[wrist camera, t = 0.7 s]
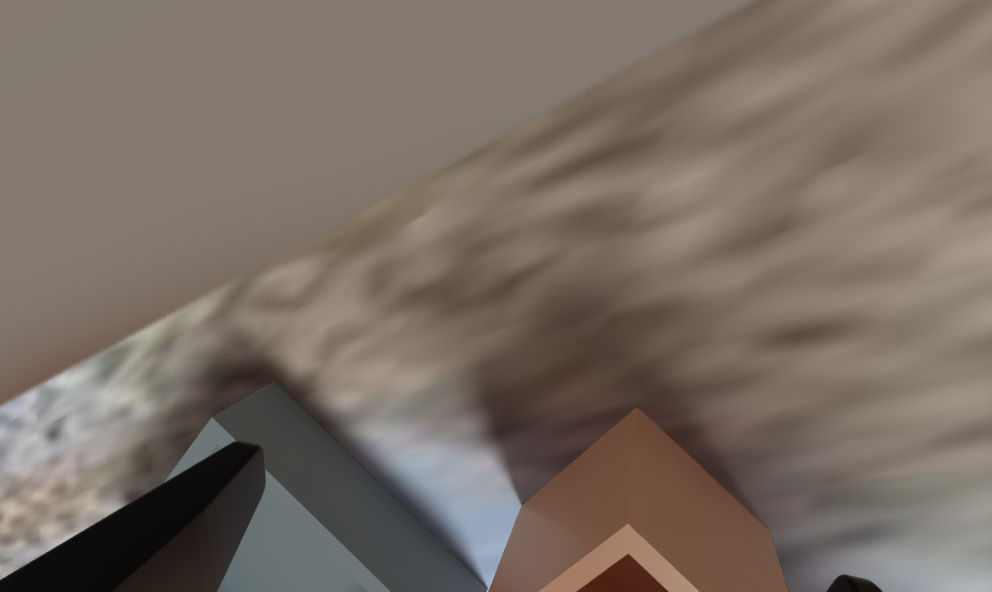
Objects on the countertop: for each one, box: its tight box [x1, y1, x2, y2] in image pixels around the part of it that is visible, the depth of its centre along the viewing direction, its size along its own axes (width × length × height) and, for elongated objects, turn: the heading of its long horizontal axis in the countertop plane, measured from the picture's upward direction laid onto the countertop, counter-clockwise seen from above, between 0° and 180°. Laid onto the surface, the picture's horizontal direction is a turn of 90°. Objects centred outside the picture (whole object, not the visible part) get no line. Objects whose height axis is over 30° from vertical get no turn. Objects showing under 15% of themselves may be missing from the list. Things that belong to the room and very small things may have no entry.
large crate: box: [165, 381, 488, 592], centre depth 25 cm, size 13×13×4 cm
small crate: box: [488, 407, 788, 592], centre depth 18 cm, size 6×6×7 cm
